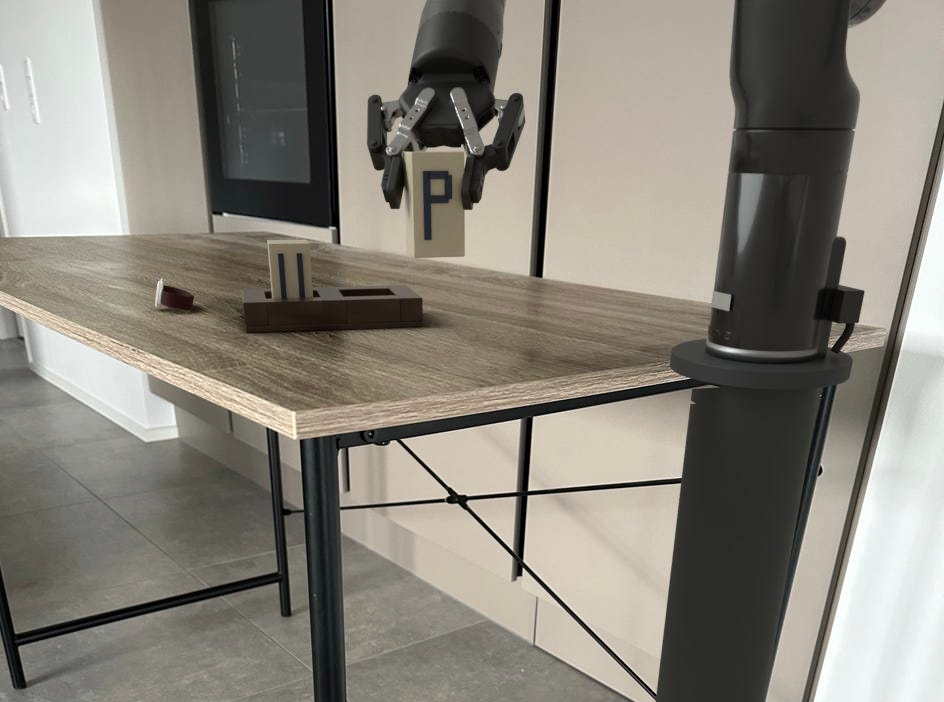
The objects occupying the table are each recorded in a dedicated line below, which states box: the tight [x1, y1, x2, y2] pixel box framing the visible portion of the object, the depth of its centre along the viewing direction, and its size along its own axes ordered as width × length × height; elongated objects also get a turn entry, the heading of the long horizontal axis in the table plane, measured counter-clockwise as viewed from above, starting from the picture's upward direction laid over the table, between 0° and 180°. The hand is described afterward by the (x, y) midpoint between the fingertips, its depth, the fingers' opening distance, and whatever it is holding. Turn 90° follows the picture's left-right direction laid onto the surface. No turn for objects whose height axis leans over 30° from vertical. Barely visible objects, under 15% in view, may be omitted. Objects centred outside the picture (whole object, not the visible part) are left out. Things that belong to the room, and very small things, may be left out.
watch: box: [154, 277, 195, 311], centre depth 115 cm, size 8×5×4 cm, turn 20°
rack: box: [241, 284, 424, 333], centre depth 107 cm, size 20×11×3 cm, turn 102°
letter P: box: [403, 150, 466, 259], centre depth 80 cm, size 4×5×8 cm
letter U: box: [266, 239, 314, 299], centre depth 105 cm, size 4×5×8 cm
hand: (429, 201), depth 78 cm, fingers closed on letter P, 5 cm apart
